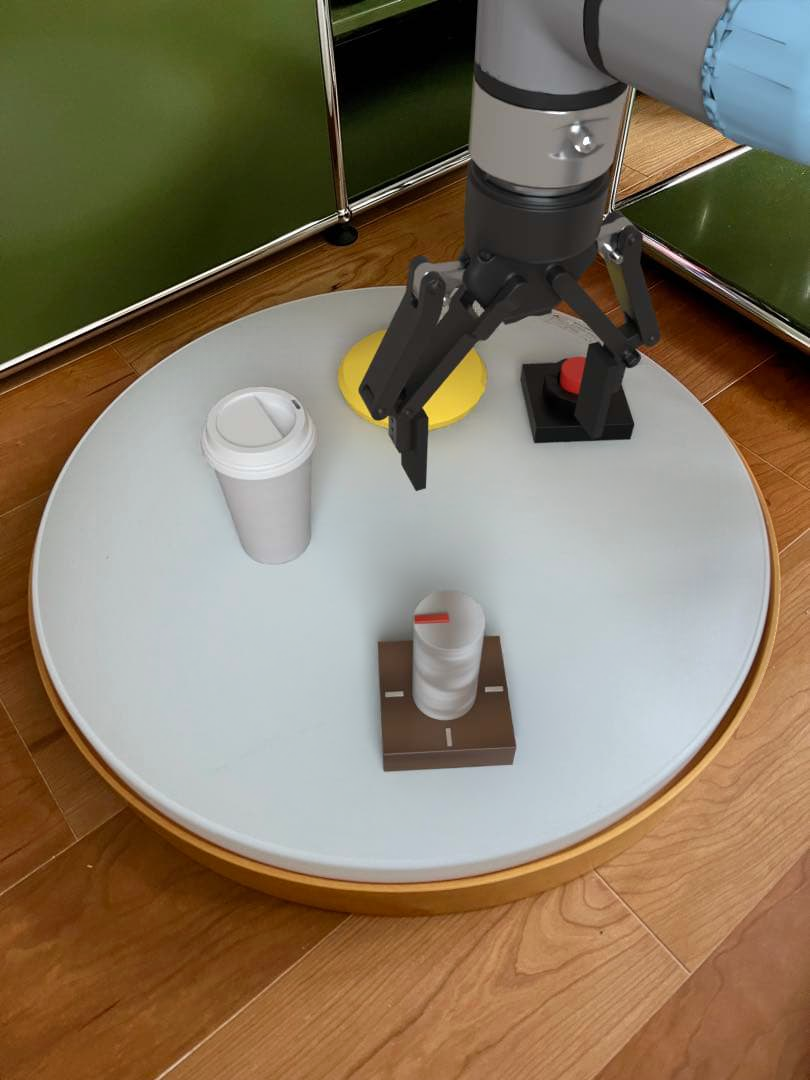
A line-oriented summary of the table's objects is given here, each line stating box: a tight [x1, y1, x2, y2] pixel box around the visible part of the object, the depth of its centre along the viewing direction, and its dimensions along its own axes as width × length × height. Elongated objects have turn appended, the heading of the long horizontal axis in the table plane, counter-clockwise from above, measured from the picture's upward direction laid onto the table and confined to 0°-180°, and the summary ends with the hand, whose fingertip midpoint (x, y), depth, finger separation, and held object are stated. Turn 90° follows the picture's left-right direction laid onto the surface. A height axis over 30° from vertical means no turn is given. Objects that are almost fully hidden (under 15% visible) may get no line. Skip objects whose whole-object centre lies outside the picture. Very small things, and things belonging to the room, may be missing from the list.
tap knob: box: [412, 590, 486, 720], centre depth 66 cm, size 5×5×10 cm
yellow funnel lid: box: [337, 328, 488, 432], centre depth 94 cm, size 16×16×7 cm
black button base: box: [519, 357, 635, 444], centre depth 94 cm, size 10×10×4 cm
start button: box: [559, 356, 586, 395], centre depth 92 cm, size 4×4×2 cm
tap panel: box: [377, 635, 517, 773], centre depth 71 cm, size 10×10×3 cm
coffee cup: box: [200, 386, 318, 565], centre depth 78 cm, size 10×10×15 cm
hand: (502, 450), depth 63 cm, fingers open, 13 cm apart
